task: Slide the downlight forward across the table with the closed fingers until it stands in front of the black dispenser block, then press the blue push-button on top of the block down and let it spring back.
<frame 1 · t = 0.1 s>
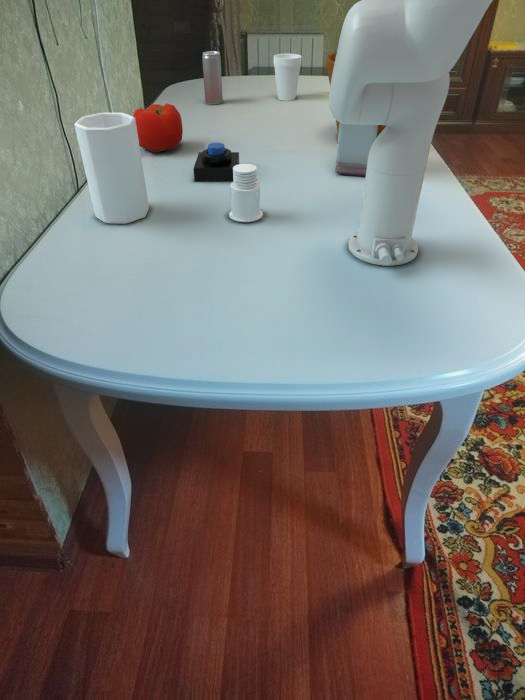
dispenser: (217, 172, 124), on the table
bottle: (354, 166, 127), on the table
beverage can: (214, 103, 174), on the table
tomato: (161, 148, 138), on the table
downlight: (246, 216, 105), on the table
flower pot: (362, 137, 145), on the table
cup: (122, 214, 106), on the table
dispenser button: (216, 149, 120), point 6 cm above the table, slide at 0.1 cm
foam cup: (286, 98, 178), on the table
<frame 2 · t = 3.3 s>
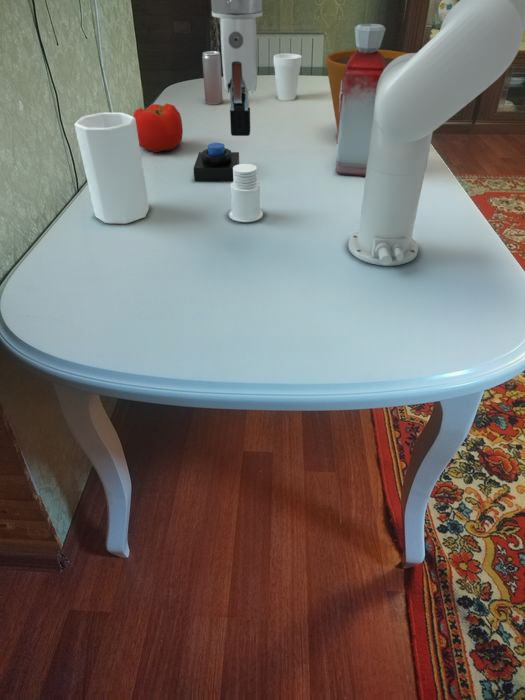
hand: (240, 133, 86), 19 cm above the table, tool pointing down, fingers closed
nothing on the table moved.
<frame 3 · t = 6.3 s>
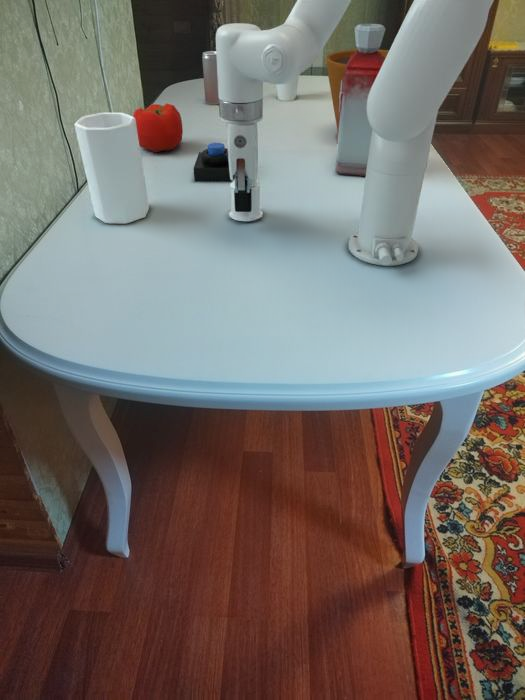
hand: (243, 209, 99), 4 cm above the table, tool pointing down, fingers closed
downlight: (245, 216, 105), on the table, touching gripper
everything else where it was.
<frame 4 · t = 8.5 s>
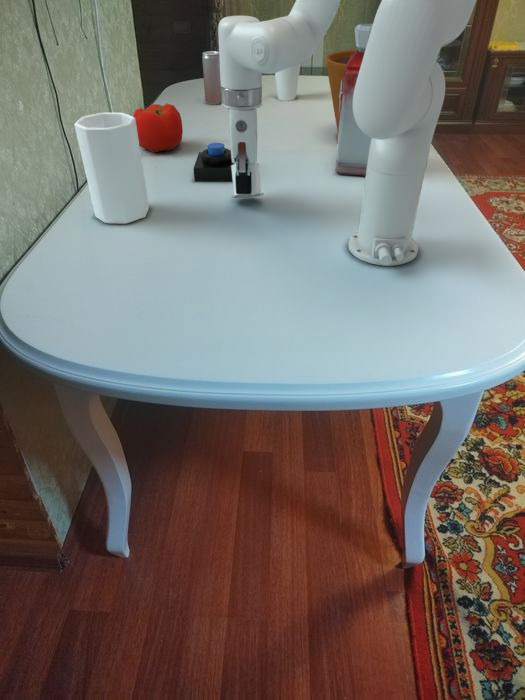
hand: (243, 192, 105), 4 cm above the table, tool pointing down, fingers closed
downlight: (247, 198, 108), point 2 cm above the table, touching gripper
everything else where it was.
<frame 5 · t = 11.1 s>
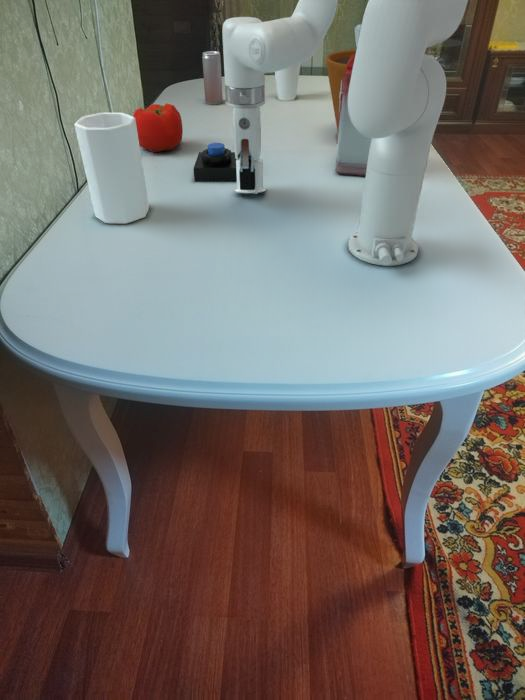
hand: (247, 188, 108), 3 cm above the table, tool pointing down, fingers closed
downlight: (250, 192, 113), point 1 cm above the table
everything else where it was.
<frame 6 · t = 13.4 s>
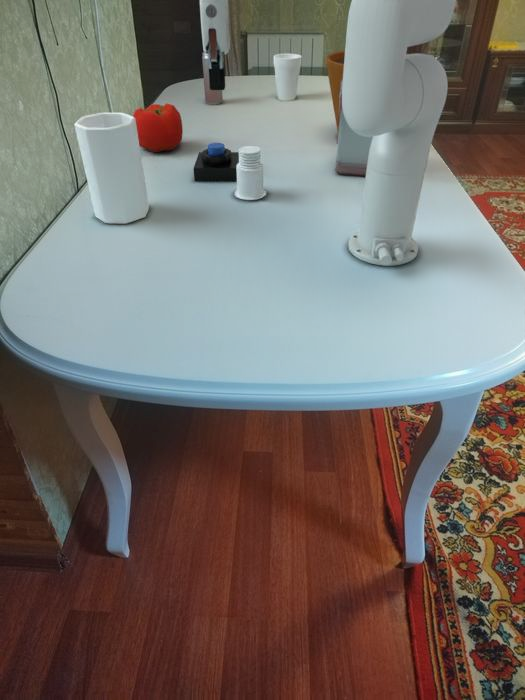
hand: (217, 88, 108), 20 cm above the table, tool pointing down, fingers closed
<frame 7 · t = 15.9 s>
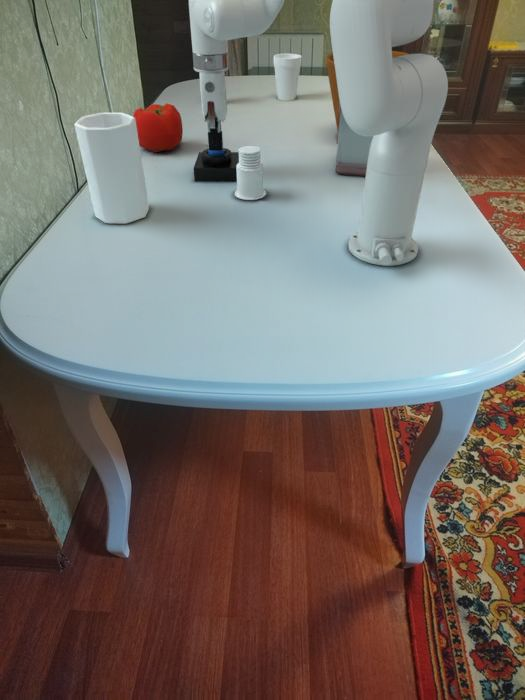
hand: (215, 148, 120), 6 cm above the table, tool pointing down, fingers closed
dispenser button: (216, 153, 121), point 5 cm above the table, slide at -0.9 cm, touching gripper
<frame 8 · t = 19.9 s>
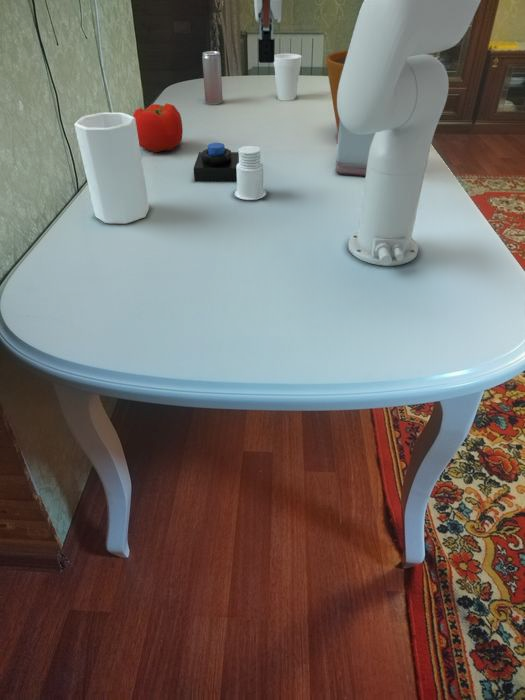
hand: (266, 61, 103), 25 cm above the table, tool pointing down, fingers closed
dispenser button: (216, 149, 120), point 6 cm above the table, slide at 0.1 cm
at the end: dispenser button pushed in 1.1 cm at the most during the clip, back to where it started at the end; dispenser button slide at 0.1 cm; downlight inside the target area on the table beside the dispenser (0.8 cm from its centre), on the table; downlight tilted 0° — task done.
